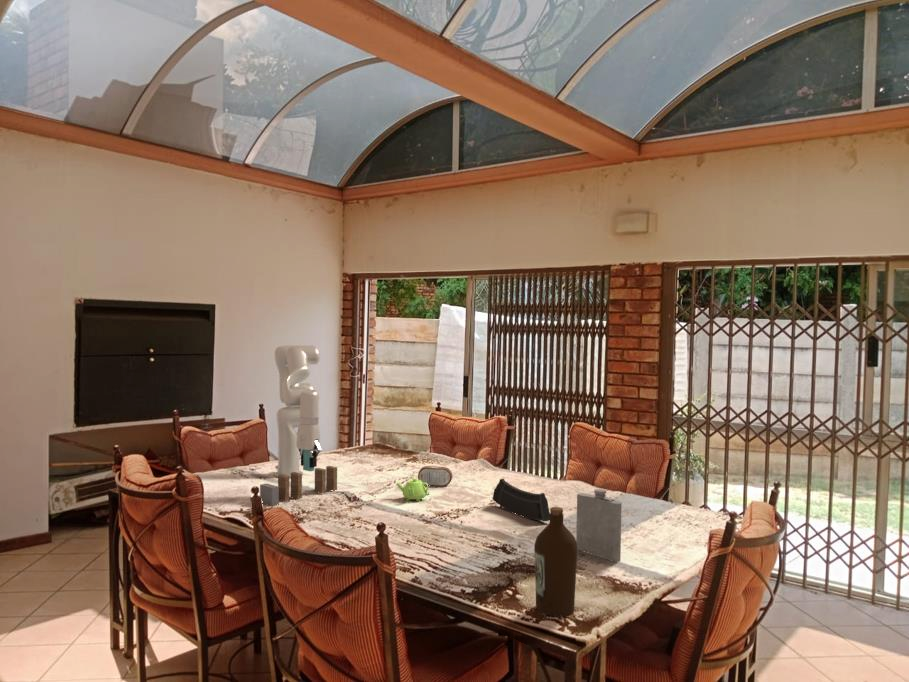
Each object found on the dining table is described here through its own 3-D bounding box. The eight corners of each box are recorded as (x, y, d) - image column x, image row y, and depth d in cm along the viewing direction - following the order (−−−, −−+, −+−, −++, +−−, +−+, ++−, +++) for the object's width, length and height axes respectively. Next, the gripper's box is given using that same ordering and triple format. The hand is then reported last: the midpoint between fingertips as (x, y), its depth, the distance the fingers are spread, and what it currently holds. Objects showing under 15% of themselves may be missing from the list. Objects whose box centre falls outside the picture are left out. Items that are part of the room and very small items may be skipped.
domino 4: (322, 494, 287) (322, 470, 286) (314, 492, 290) (314, 468, 290) (325, 493, 288) (325, 469, 288) (318, 491, 291) (318, 467, 291)
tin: (452, 485, 306) (452, 466, 306) (451, 487, 303) (451, 468, 303) (418, 484, 307) (418, 465, 307) (417, 486, 304) (417, 466, 304)
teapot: (433, 500, 279) (434, 479, 278) (408, 504, 272) (409, 483, 272) (419, 495, 288) (420, 474, 288) (395, 498, 282) (395, 477, 282)
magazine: (555, 500, 246) (506, 461, 270) (548, 501, 244) (499, 462, 268) (545, 542, 251) (497, 501, 274) (538, 543, 249) (491, 502, 273)
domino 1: (285, 502, 273) (285, 476, 273) (277, 499, 276) (278, 474, 276) (289, 501, 274) (289, 476, 274) (281, 499, 278) (281, 474, 278)
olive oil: (569, 599, 179) (571, 502, 178) (582, 617, 168) (584, 513, 168) (529, 601, 177) (530, 503, 177) (539, 618, 167) (540, 514, 166)
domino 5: (333, 491, 291) (333, 467, 291) (326, 489, 294) (326, 466, 294) (337, 491, 293) (337, 467, 292) (329, 489, 296) (329, 465, 296)
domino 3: (310, 471, 282) (310, 446, 282) (303, 469, 285) (303, 445, 285) (314, 470, 283) (314, 446, 283) (306, 469, 286) (306, 444, 286)
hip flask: (574, 549, 220) (575, 486, 220) (582, 546, 223) (583, 484, 222) (616, 562, 208) (617, 495, 208) (624, 559, 211) (625, 493, 210)
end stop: (259, 502, 272) (260, 484, 272) (266, 501, 274) (266, 483, 274) (271, 506, 267) (272, 487, 267) (278, 504, 269) (278, 486, 269)
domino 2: (298, 499, 278) (298, 474, 277) (290, 497, 281) (290, 472, 281) (301, 498, 279) (302, 473, 279) (294, 496, 282) (294, 471, 282)
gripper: (288, 420, 287) (288, 464, 287) (314, 424, 275) (314, 470, 276) (303, 418, 292) (303, 462, 292) (329, 422, 281) (329, 467, 281)
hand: (308, 465), depth 284 cm, fingers closed on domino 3, 4 cm apart
